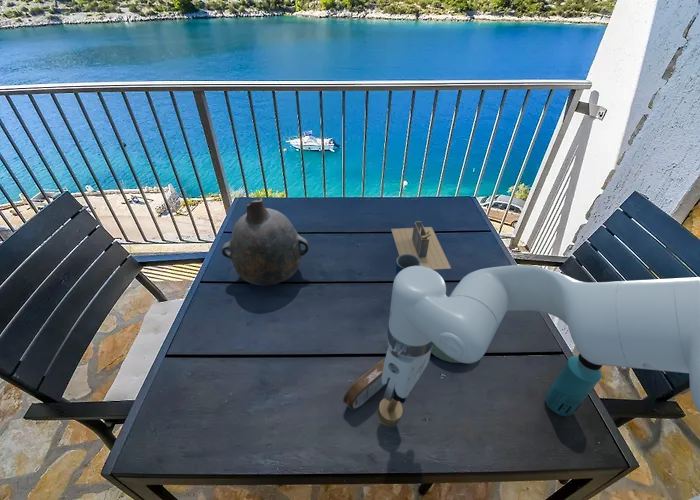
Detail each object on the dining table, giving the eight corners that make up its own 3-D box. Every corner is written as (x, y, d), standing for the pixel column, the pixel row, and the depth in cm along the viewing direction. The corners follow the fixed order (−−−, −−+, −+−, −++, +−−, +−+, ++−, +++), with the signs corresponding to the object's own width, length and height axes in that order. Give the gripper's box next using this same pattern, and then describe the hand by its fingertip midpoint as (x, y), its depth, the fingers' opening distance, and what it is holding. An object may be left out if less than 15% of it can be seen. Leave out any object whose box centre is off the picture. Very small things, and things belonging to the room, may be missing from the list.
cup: (403, 309, 104) (409, 272, 95) (387, 297, 109) (391, 260, 99) (418, 299, 108) (425, 262, 99) (402, 287, 112) (407, 250, 103)
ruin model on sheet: (451, 268, 119) (456, 246, 113) (404, 271, 118) (407, 248, 112) (431, 226, 139) (435, 205, 133) (391, 228, 137) (393, 207, 131)
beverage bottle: (548, 419, 79) (586, 369, 66) (537, 392, 84) (570, 340, 72) (577, 420, 79) (621, 370, 66) (564, 393, 84) (602, 341, 71)
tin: (387, 369, 89) (389, 349, 83) (396, 378, 87) (399, 358, 82) (342, 408, 81) (342, 388, 76) (351, 418, 79) (351, 399, 74)
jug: (290, 246, 129) (280, 171, 110) (318, 280, 114) (312, 200, 96) (224, 270, 118) (201, 191, 100) (246, 310, 104) (224, 228, 85)
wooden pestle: (401, 407, 77) (418, 370, 66) (397, 429, 73) (414, 394, 62) (379, 399, 77) (392, 361, 67) (374, 421, 74) (387, 385, 63)
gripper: (407, 382, 50) (396, 439, 61) (452, 314, 60) (435, 374, 71) (364, 355, 53) (361, 414, 65) (413, 295, 63) (403, 355, 75)
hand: (400, 393), depth 68 cm, fingers closed on wooden pestle
